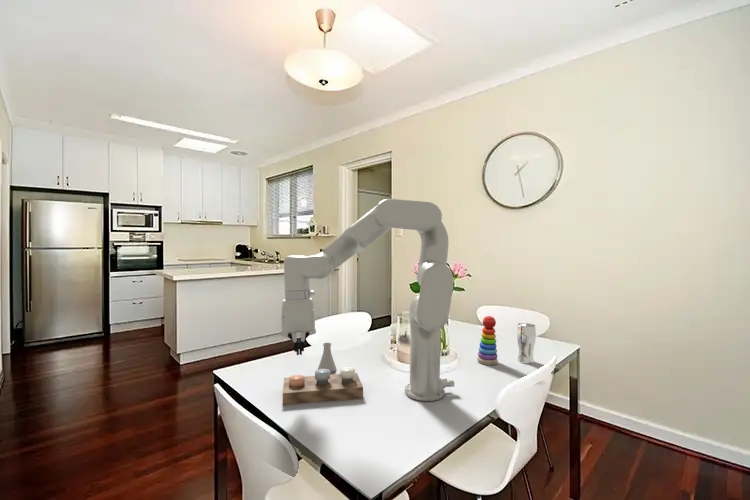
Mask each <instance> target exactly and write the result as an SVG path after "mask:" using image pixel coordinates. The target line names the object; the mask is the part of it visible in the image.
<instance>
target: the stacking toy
mask: <svg viewBox="0 0 750 500" xmlns="http://www.w3.org/2000/svg"><path fill="white" fill-rule="evenodd" d="M496 324H497V322H496V319H495V318H494V316H491V315H487V316H484V318H483V320H482V325H483V326H484V327H482V329H481V330H482V332H481V338H480V342H479V347H478V353H477V358H476V359H477V362H478V363H480V364H482V365H486V366H493V365H497V364H498V362H499V361H498V353H497V352H498V350H497V344H496V343H497V339H496V336H497V335H496V334H495V333H496V329H495V326H496Z"/></svg>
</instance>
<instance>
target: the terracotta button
mask: <svg viewBox="0 0 750 500" xmlns="http://www.w3.org/2000/svg"><path fill="white" fill-rule="evenodd" d="M304 376H305V375H302V374H294V375H291V376H288V378H289V386H291V387H301V386H303V385H304V384H305V377H304Z"/></svg>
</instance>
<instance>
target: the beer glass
mask: <svg viewBox="0 0 750 500" xmlns="http://www.w3.org/2000/svg"><path fill="white" fill-rule="evenodd" d="M516 335H517V336H516V338H517V347H518V357H517V362H519V363H520V364H526V365H531V364H534V363H535V360H534V350H535V345H536V339H537V337H536V335H537V331H536V325H535V324H534V323H528V322H520V323H517V331H516Z"/></svg>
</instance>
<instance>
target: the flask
mask: <svg viewBox="0 0 750 500" xmlns="http://www.w3.org/2000/svg"><path fill="white" fill-rule="evenodd" d="M322 346H323V351H322V355H321V359H320V361H319V364H318V367H317V370H318V369H329V370H330V374H331V373H333V372H336V371H337V366H336V363H335V360H334V357H333V354H332V350H331V346H332V343H331V342H324V343H322Z"/></svg>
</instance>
